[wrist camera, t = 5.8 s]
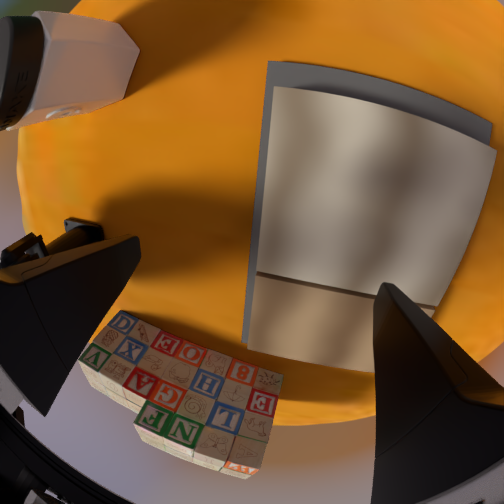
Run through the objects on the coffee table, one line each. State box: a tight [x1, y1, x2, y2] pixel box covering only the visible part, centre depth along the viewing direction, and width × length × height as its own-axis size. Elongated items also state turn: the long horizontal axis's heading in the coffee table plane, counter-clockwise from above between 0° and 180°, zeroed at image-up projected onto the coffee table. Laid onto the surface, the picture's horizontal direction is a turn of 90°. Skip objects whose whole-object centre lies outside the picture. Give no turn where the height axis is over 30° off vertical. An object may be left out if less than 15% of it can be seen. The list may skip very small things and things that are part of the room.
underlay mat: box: [241, 61, 492, 344], centre depth 19 cm, size 16×24×1 cm, turn 175°
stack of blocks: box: [78, 310, 283, 479], centre depth 26 cm, size 21×6×12 cm, turn 77°
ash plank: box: [256, 86, 497, 306], centre depth 15 cm, size 14×12×2 cm
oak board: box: [247, 271, 435, 373], centre depth 21 cm, size 14×8×2 cm, turn 85°
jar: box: [0, 11, 140, 131], centre depth 12 cm, size 9×8×12 cm
